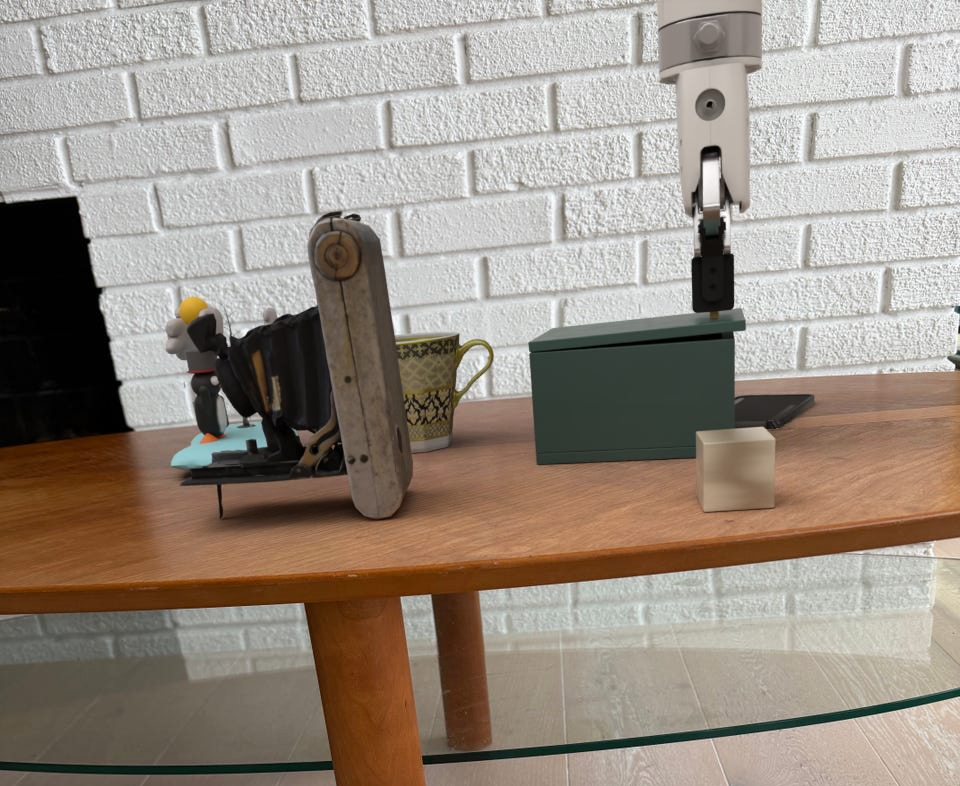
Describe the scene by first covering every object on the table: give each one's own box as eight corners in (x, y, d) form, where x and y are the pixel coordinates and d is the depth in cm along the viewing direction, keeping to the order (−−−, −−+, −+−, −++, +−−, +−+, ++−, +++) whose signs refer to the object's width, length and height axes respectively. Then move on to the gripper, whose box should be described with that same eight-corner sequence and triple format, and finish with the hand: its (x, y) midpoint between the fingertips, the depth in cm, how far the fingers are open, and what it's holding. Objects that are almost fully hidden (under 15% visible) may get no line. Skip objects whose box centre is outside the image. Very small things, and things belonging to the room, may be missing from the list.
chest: (732, 427, 91) (732, 324, 88) (734, 456, 79) (734, 338, 76) (558, 436, 94) (552, 337, 91) (536, 464, 83) (528, 353, 80)
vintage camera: (226, 509, 79) (165, 239, 72) (419, 486, 78) (378, 210, 71) (190, 544, 70) (116, 241, 63) (407, 519, 69) (358, 207, 62)
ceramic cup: (353, 460, 92) (338, 347, 88) (377, 440, 101) (364, 337, 97) (494, 451, 90) (485, 335, 86) (505, 432, 99) (497, 326, 96)
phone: (691, 421, 92) (739, 394, 103) (692, 433, 92) (739, 405, 104) (779, 421, 88) (818, 393, 100) (779, 434, 88) (817, 405, 100)
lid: (742, 317, 87) (740, 253, 85) (746, 330, 76) (744, 257, 74) (552, 337, 91) (547, 276, 89) (529, 352, 80) (522, 283, 78)
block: (763, 492, 68) (763, 426, 66) (774, 508, 63) (776, 438, 62) (696, 496, 68) (695, 431, 67) (703, 512, 64) (703, 443, 62)
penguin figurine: (275, 475, 88) (246, 293, 83) (155, 486, 88) (118, 305, 83) (309, 437, 107) (287, 286, 102) (209, 446, 107) (182, 296, 102)
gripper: (767, 24, 66) (766, 312, 73) (757, 63, 82) (757, 298, 88) (652, 41, 68) (661, 321, 75) (664, 77, 84) (670, 306, 90)
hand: (713, 306), depth 81 cm, fingers closed on lid, 5 cm apart
